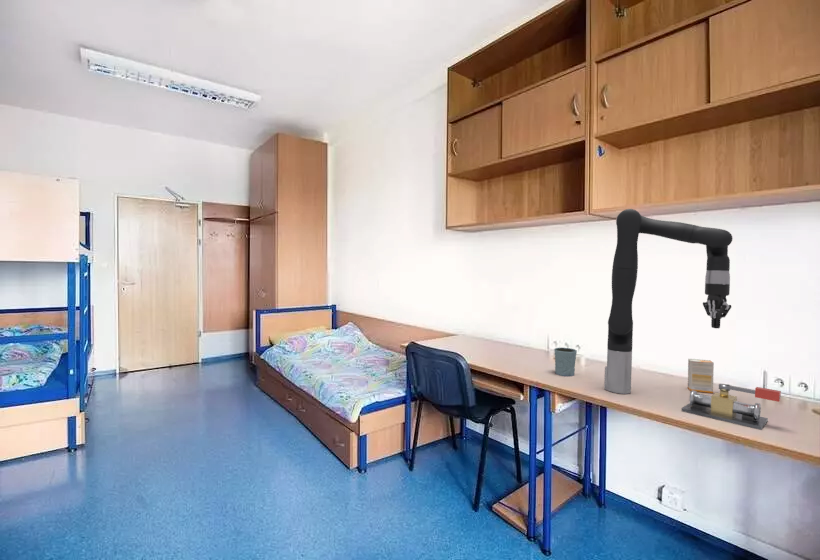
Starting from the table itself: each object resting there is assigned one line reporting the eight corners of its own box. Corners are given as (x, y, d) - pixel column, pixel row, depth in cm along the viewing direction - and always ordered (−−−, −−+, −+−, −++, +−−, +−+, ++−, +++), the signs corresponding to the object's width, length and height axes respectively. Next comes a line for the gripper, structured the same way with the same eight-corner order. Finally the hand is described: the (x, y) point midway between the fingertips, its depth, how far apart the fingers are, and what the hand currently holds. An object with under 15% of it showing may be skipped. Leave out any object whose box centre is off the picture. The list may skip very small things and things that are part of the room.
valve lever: (717, 390, 143) (717, 381, 143) (719, 388, 145) (720, 380, 145) (778, 402, 131) (779, 392, 130) (780, 400, 133) (781, 390, 133)
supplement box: (710, 390, 174) (711, 360, 173) (713, 393, 169) (714, 362, 169) (687, 388, 177) (688, 358, 177) (689, 391, 173) (690, 360, 172)
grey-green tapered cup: (572, 372, 202) (573, 347, 202) (578, 377, 192) (579, 352, 192) (551, 371, 203) (552, 347, 203) (556, 376, 193) (557, 351, 193)
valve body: (681, 411, 147) (682, 386, 147) (691, 404, 155) (692, 380, 155) (761, 429, 131) (762, 401, 130) (767, 421, 139) (768, 394, 138)
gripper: (696, 282, 162) (694, 325, 163) (719, 283, 149) (717, 330, 149) (715, 282, 162) (714, 325, 162) (740, 283, 149) (738, 330, 149)
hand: (715, 328), depth 156 cm, fingers closed
